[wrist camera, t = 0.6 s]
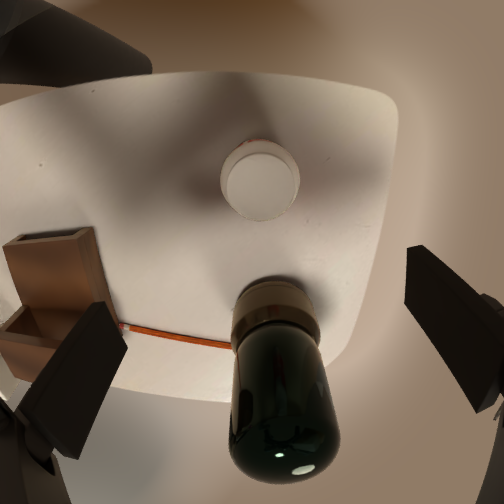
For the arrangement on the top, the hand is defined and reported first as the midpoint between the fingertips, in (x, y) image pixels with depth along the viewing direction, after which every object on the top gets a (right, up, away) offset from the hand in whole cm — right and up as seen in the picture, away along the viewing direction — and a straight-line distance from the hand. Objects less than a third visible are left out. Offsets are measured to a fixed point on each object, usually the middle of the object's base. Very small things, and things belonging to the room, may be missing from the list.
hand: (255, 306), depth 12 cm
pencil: (-9, -9, +27) cm, 30 cm away
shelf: (-26, -2, +24) cm, 35 cm away
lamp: (+2, -5, +25) cm, 25 cm away
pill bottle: (0, +11, +18) cm, 21 cm away
